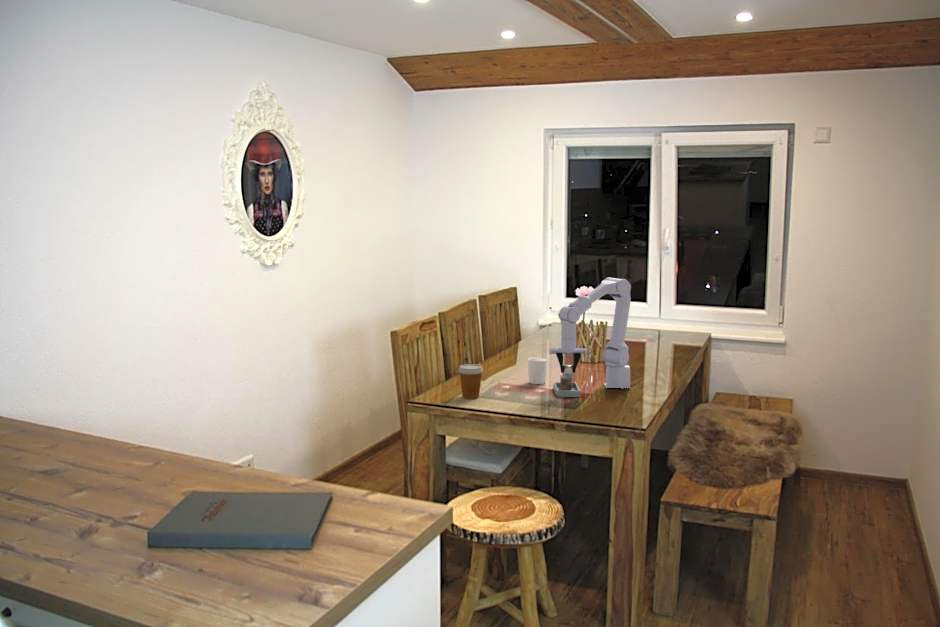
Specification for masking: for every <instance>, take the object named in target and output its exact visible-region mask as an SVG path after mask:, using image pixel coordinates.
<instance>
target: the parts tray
mask: <svg viewBox="0 0 940 627" xmlns="http://www.w3.org/2000/svg"><path fill="white" fill-rule="evenodd" d="M554 390H555V391H554ZM553 391H554V393H555V396H556V395H557V396H559V397H558V398H581V389H580V387H579V384H578V382H576V381H575V382H573V381H572V384H571V390H561V388H560V381H558V382H557V381H556V382H555V381H554V382H553ZM557 396H556V397H557ZM560 396H561V397H560Z"/></svg>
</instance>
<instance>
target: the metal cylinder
mask: <svg viewBox="0 0 940 627" xmlns="http://www.w3.org/2000/svg"><path fill="white" fill-rule="evenodd" d="M562 375H563V379H566V380H571V379H572V380H573V379H574V373H573V365H572V364H563V373H562Z"/></svg>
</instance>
